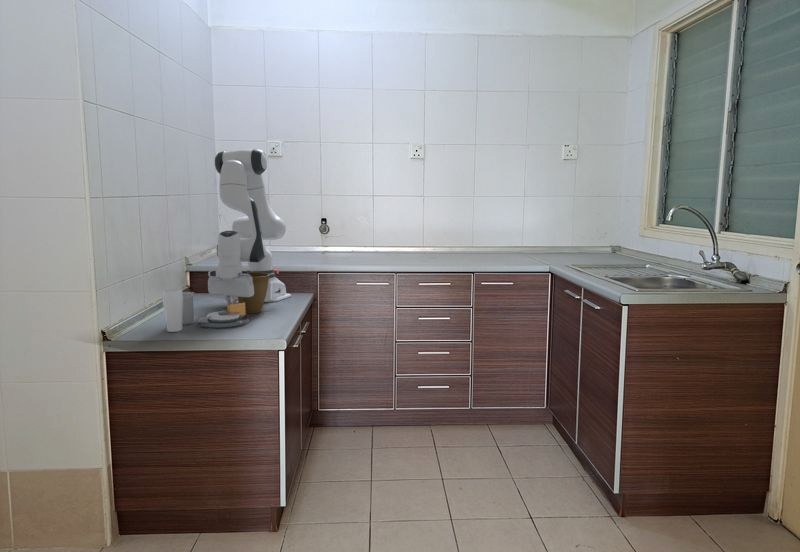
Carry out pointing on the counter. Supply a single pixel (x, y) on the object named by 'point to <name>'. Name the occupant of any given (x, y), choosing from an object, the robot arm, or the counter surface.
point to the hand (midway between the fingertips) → (231, 306)
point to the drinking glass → (173, 309)
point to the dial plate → (212, 325)
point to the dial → (228, 313)
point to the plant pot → (256, 293)
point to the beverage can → (187, 309)
